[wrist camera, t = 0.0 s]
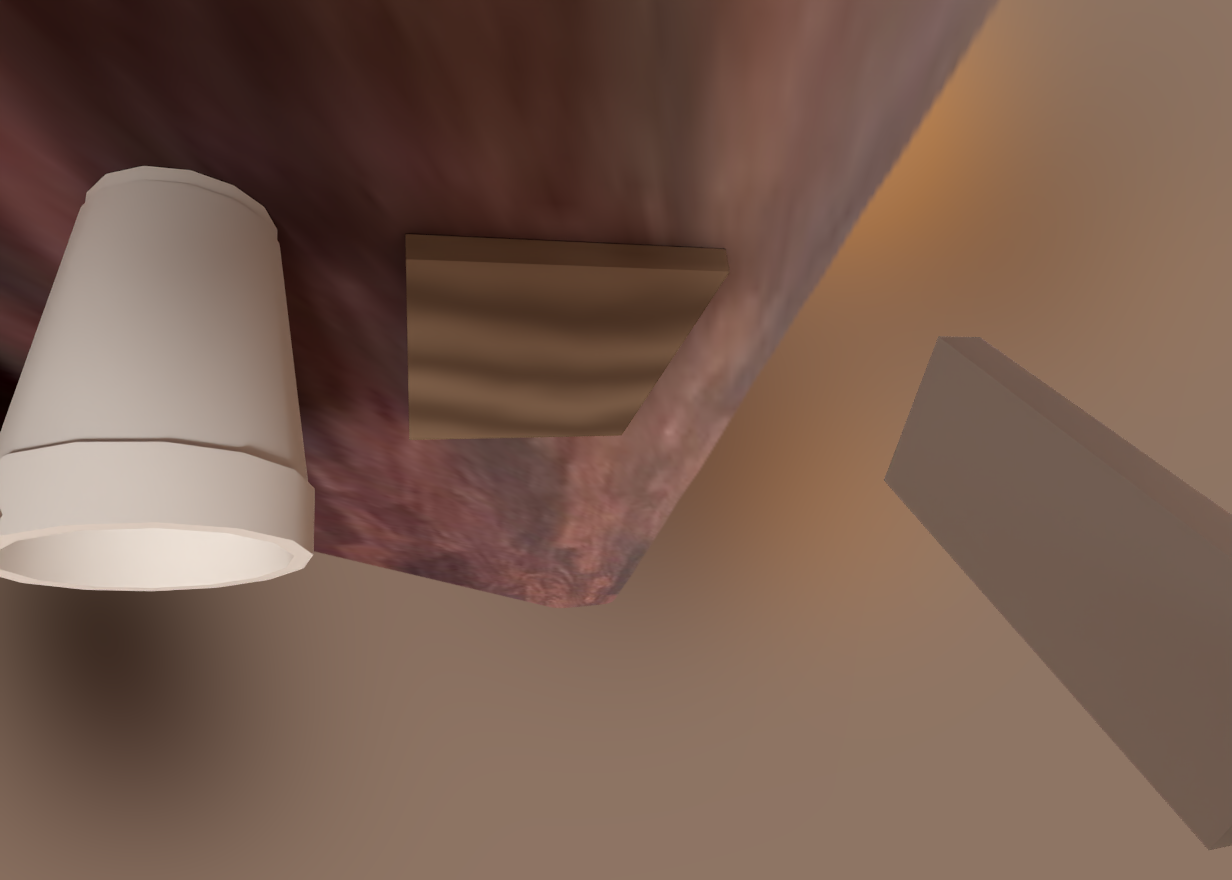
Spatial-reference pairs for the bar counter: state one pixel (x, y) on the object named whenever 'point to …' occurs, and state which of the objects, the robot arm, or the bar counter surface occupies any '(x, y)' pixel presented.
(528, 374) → the walnut board
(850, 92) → the bar counter surface
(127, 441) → the foam cup
